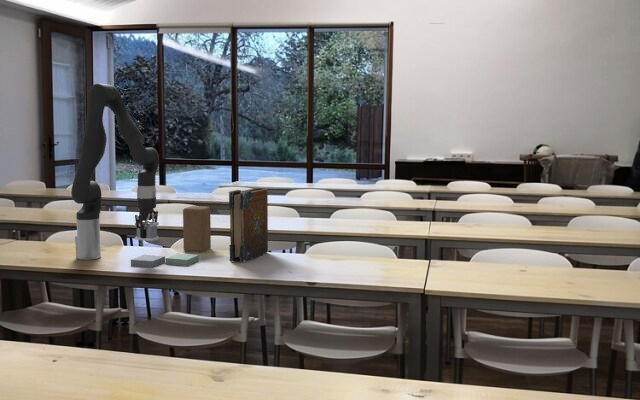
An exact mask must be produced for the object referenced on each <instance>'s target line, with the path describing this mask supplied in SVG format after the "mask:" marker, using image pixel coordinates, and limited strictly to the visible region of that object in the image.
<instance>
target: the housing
mask: <svg viewBox="0 0 640 400" xmlns="http://www.w3.org/2000/svg"><path fill="white" fill-rule="evenodd" d="M143 222H145V221H143ZM134 225H135V226H136V222H134ZM139 225H140V223H139ZM159 225H160V224H159V222H158V221H157V222H148V224H146V229H145V230H146V238H145V239H142V238H140V229H138V228H137V227H136V236H135V237H134V240H137V241H146V242H154V241H157V240H160V239H159V238H160V236H158V226H159ZM143 226H144V224H143Z"/></svg>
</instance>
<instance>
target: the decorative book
mask: <svg viewBox="0 0 640 400" xmlns="http://www.w3.org/2000/svg"><path fill="white" fill-rule="evenodd" d="M268 194H269V189H268V188H262V187H260V188H258V187H256V188H250V189H245V190H241V189H235V190H229V191H228V208H229V213H230V214H229V221H230V222H229V225H230V227H229V231H230V232H229V233H230V234H229V235H230V244H229V262H230V261H234V262H237V261H239V260H240V263H241V262H242V263H241V264H245V263H248V262H251V261H252V260H253V259H254V258H257V257H260V256H263V255H265V254H268V253H269V249H268V248H269V245H268V243H269V241H268V239H269V235H268V234H269V232H268V231H269V230H268V229H269V227H268V226H269V224H268V223H269V222H268V220H269V217H268V215H269V213H268V207H269V206H268V202H269V201H268V200H269V199H268V197H269V195H268ZM238 259H239V260H238ZM236 260H237V261H236ZM247 261H248V262H247Z"/></svg>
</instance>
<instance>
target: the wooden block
mask: <svg viewBox="0 0 640 400" xmlns="http://www.w3.org/2000/svg"><path fill="white" fill-rule="evenodd" d="M211 222H212V221H211V207H210V206H203V205H202V206H201V205H191V206H187V207H185V208H183V209H182V224H183V225H182V228H183V230H182V232H183V233H182V236H183V239H182V240H183V242H182V243H183V251H185V252H191V253H194V252H195V253H204V252H206V251H208V250H210V249H211V247H212V246H211V245H212V244H211V243H212V241H211V240H212V239H211V238H212V236H211V235H212V234H211V233H212V232H211V230H212V229H211V224H212V223H211Z"/></svg>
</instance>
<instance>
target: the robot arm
mask: <svg viewBox="0 0 640 400" xmlns="http://www.w3.org/2000/svg"><path fill="white" fill-rule="evenodd" d="M105 108H109V109H110V111H111V112H112V113H113V115H114V116H115V118H116V121H117V128H118V131H119V133H120V135H121V137H122V138H123V140H124V141H125V143H126V144H127V145H128V148H129V151H130V154H131V156H132V159H133V160H134V161H135V163H136V164H138V165H139V166H143V167H142V170H140V171H139V172H138V173H137V188H136V189H137V191H136V206H137V209H139V213H138V214H135V215H134V221H135V223H136V225H135V227H136V229H137V228H138V229H140V238H142V239H145V238H146V230H145V229H146V224H148V222H158V216H159V215H158V214H159V211H158V210H154V209H155V208H157V189H156V188H157V187H156V175H157V171H158V167H159V162H160V155H159V152H158V151H157V149H156V148H155V147H145V146H144V145H143V144H144V143H145V137H144V135H143V134H142V132H141V131H140V129H139V127H138V126H137V125H136V123H135V122H134V120H133V118H132V116H131V115H130V112H129V110H128V109H127V106H126V105H125V102H124V99H123V97H122V96H121V93H120V91H119V90H118V88H117V87H115V86H114V85H112V84H106V83H95V84H93V85H92V86H91V87H90V89H89V92H88V97H87V109H86V110H87V113H86V119H85V127H84V133H83V137H82V143H81V149H80V155H79V160H78V164H77V169H76V172H75V175H74V179H73V183H72V186H71V198H72V200H73V201H74V202H75V203H77V205H78V204H82V206H81V208H80V209H79V210H78V211H77V212H76V214H75V215H76V216H75V217H76V236H75V237H74V239H75V241H74V242H75V259H78V260H80V261H81V260H82V261H83V260H84V261H85V260H87V261H90V260H97V259H100V258H101V257H102V254H101V253H102V251H101V227H100V226H101V225H100V223H101V221H100V216H101V215H100V214H101V212H102V188H101V185H100V184H99V183H98V182H97V181H94V180H92V176H93V174H94V172H95V169H96V168H97V167H98V165H99V164H100V162H101V160H103V159H102V158H103V157H104V154H105V151H106V145H107V139H108V138H107V133H106V129H105V126H104V121H103V117H104V111H105ZM143 221H145V222H143ZM139 223H140V225H139ZM143 224H144V226H143Z"/></svg>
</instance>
